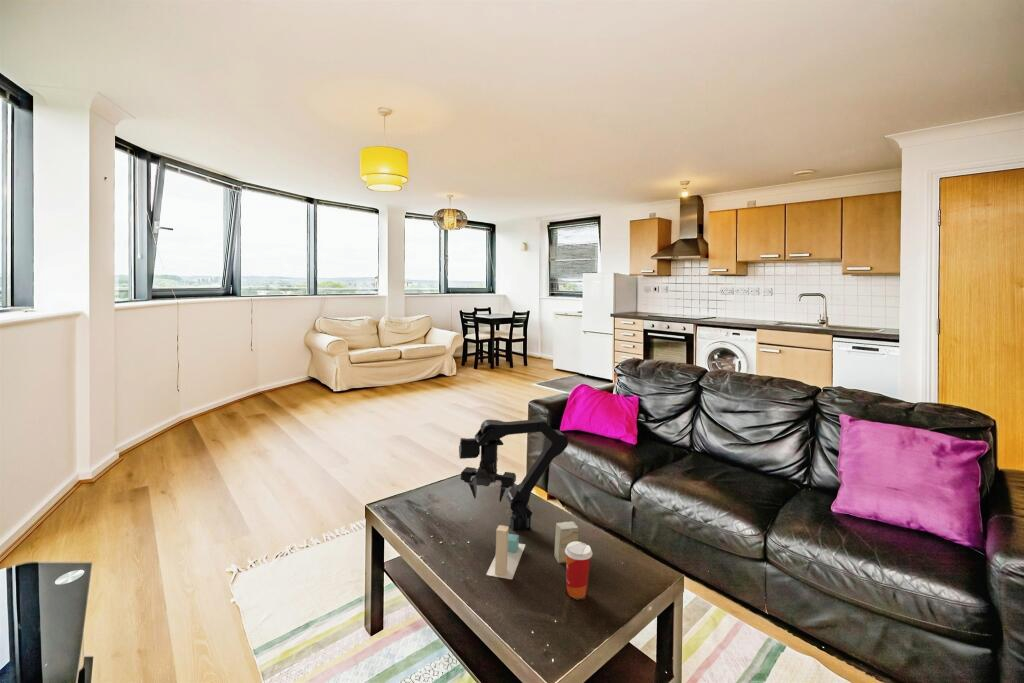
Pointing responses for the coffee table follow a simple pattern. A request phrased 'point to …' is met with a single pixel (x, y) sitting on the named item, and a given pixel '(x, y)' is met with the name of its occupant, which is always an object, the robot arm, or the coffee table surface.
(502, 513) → the coffee table surface
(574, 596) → the paper cup
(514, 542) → the teal block
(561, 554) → the skincare box
